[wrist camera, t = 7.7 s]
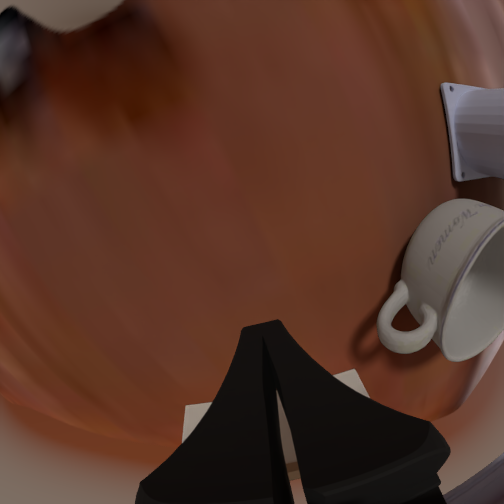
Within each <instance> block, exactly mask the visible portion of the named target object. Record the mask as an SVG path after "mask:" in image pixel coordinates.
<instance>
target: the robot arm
mask: <svg viewBox="0 0 504 504" xmlns="http://www.w3.org/2000/svg"><path fill="white" fill-rule="evenodd" d="M450 89H451V91H450ZM441 92H442V96H443V101H444V107H445V112H446V118H447V124H448V131H449V138H450V147H451V156H452V168H453V178H454V180H455V181H458V182H461V181H467V180H473V179H479V178H485V177H492V176H493V177H497V178H501V179H504V88H500V89H484V88H479V87H473V86H467V85H460V84H453V83H442V84H441ZM461 175H462V176H461ZM276 389H277V392H278V395H279V398H280V401H281V404H282V407H283V410H284V413H285V416H286V418H287V421H288V424H289V427H290V431H291V435H292V440H293V444H294V449H295V454H296V458H297V463H298V467H299V472H300V477H301V481H302V486H303V489H304V493H305V497H306V501H307V504H504V453H503V454H501V455H500V456H499V457H498V458H497V459H495V460H494V461H493V462H491V463H490V464H489V465H488V466H486V467H485V468H484V469H482V470H481V471H479V472H478V473H477V474H475V475H474V476H472V477H471V478H470V479H468V480H467V481H465V482H464V483H462V484H461V485H459V486H457V487H456V488H454V489H453V490H451V491H449V492H448V493H446V494H444V495H442V493H441V491H440V489H439V487H438V486H439V485H440V484H441V481H440V479H439V477H438V475H437V472H438V470H439V469H440V468H441V467H442V466H443V464H444V463H445V461H446V460H447V458H448V457H449V455H450V447H449V445H448V444H447V442H446V440H445V439H444V437H443V436H442V435H441V434H440V433H439V431H438V430H437V429H436V428H435V427H434V426H433V425H432V423H431V422H430V421H426V420H423V419H419V418H416V417H413V416H410V415H407V414H404V413H401V412H398V411H396V410H394V409H391V408H389V407H386V406H384V405H382V404H380V403H378V402H376V401H374V400H372V399H370V398H368V397H366V396H364V395H362V394H361V393H359V392H357V391H355V390H354V389H352V388H350V387H349V386H347V385H346V384H344V383H343V382H341V381H340V380H338V379H337V378H336V377H334V376H333V375H331V374H330V373H329V372H328V371H326V370H325V369H324V368H323V367H322V366H320V365H319V364H318V363H317V362H316V361H315V360H314V359H312V358H311V357H310V356H309V355H308V354H307V353H306V352H305V351H304V350H303V349H302V348H301V347H300V346H299V344H298V343H297V342H296V341H295V340H294V339H293V338H292V336H291V335H290V334H289V333H288V331H287V330H286V328H285V327H284V325H283V324H282V322H281V321H280V320H278V319H277V320H273V321H269V322H265V323H260V324H256V325H252V326H247V327H243V329H242V330H241V335H240V339H239V343H238V346H237V349H236V352H235V355H234V358H233V360H232V363H231V365H230V368H229V370H228V373H227V375H226V377H225V379H224V381H223V383H222V385H221V387H220V389H219V391H218V393H217V395H216V397H215V399H214V400H213V402H212V404H211V405H210V407H209V408H208V410H207V412H206V413H205V415H204V416H203V417H202V419H201V420H200V422H199V423H198V424H197V426H196V427H195V428H194V430H193V431H192V432H191V434H190V435H189V436H188V437H187V438H186V439H185V440H184V442H183V443H182V444H181V445H180V446H179V447H178V448H177V449H176V450H175V452H174V453H173V454H172V455H171V456H170V457H169V458H168V459H167V460H166V461H165V462H163V463H162V464H161V465H160V466H159V467H158V468H157V469H155V470H154V471H153V472H152V473H151V474H150V475H148V476H147V477H146V478H145V479H144V480H142V481H141V482H140V485H139V489H138V492H137V495H136V500H135V504H294V499H293V495H292V491H291V486H290V481H289V477H288V472H287V467H286V462H285V458H284V453H283V448H282V441H281V432H280V422H279V411H278V401H277V392H276Z"/></svg>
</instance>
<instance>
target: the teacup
mask: <svg viewBox="0 0 504 504" xmlns="http://www.w3.org/2000/svg"><path fill="white" fill-rule="evenodd" d="M405 304H406V305H407V307H408V309H409V311H410V312H411V314H412V315H413V317H414V318H415V319H416V321H417V322H418V323H419V324H420V327H419V328H417V329H415V330H412V331H409V332H402V331H398V330H395V329H394V328H393V327H392V326H391V322H392V320H393V318H394V316H395V315H396V314H397V312H398V311H399V310H400V309H401V308H402V307H403V306H404V305H405ZM503 330H504V211H503V210H501V209H499V208H496V207H494V206H491V205H488V204H485V203H482V202H479V201H475V200H471V199H454V200H450V201H447V202H445V203H443V204H441V205H439V206H438V207H436V208H435V209H434V210H432V211H431V212H430V213H429V214H428V215H427V216H426V217H425V218H424V219H423V221H422V222H421V223H420V225H419V226H418V227H417V229H416V230H415V232H414V234H413V236H412V237H411V239H410V242H409V244H408V246H407V249H406V252H405V255H404V259H403V264H402V270H401V280H400V281H399V282H397V283H396V285H395V286H394V292H393V293H392V295H391V296H390V297H389V298H388V300H387V301H386V302H385V303H384V305H383V306H382V308H381V310H380V312H379V314H378V318H377V332H378V337H379V339H380V341H381V343H382V344H383V345H384V346H385V347H386V348H388V349H389V350H391V351H393V352H396V353H400V354H409V353H412V352H416V351H418V350H420V349H422V348H423V347H424V346H426V345H427V344H428V343H429V341H430V340H431V338H432V340H433V341H434V342H435V343H436V344H437V345H438V346H439V348H440V349H441V352H442V354H443V355H444V357H445V358H446V359H448V360H450V361H453V362H460V361H464V360H467V359H469V358H471V357H473V356H475V355H477V354H479V353H480V352H481V351H483V350H484V349H485V348H486V347H488V346H489V345H490V344H491V343H492V342H493V341H494V340H495V339H496V338H497V337H498V335H499V334H500V333H501V332H502V331H503Z"/></svg>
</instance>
